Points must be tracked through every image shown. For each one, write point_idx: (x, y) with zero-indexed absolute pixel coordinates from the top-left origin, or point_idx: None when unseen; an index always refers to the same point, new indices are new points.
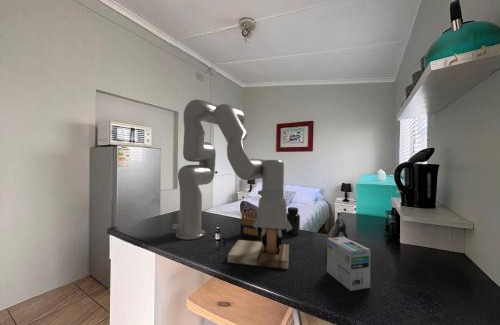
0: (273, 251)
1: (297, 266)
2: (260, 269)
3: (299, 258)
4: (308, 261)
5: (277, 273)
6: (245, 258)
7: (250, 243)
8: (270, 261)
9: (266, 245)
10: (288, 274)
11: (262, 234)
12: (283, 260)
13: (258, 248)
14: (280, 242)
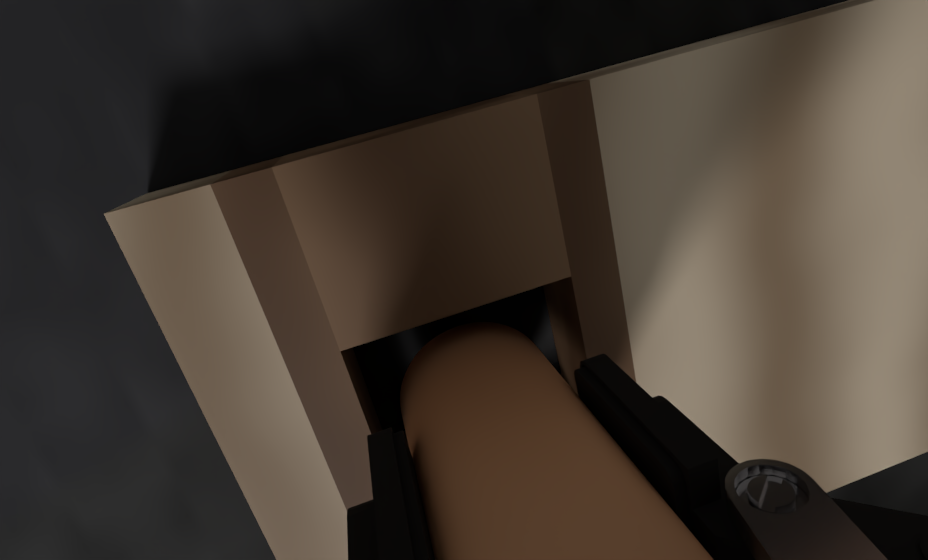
0: (437, 368)
1: (70, 330)
2: (470, 5)
3: (150, 530)
4: (7, 525)
5: (222, 6)
6: (730, 36)
7: (790, 441)
8: (386, 133)
9: (575, 395)
10: (70, 53)
11: (769, 481)
12: (188, 203)
13: (662, 369)
14: (360, 536)
